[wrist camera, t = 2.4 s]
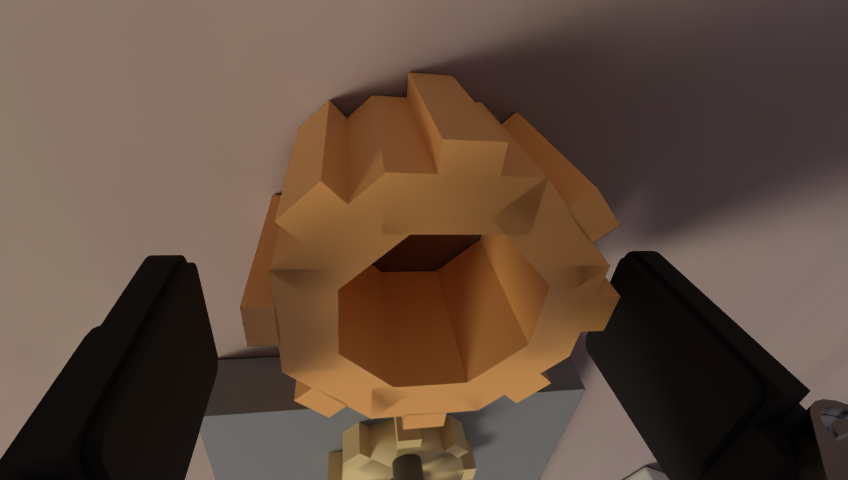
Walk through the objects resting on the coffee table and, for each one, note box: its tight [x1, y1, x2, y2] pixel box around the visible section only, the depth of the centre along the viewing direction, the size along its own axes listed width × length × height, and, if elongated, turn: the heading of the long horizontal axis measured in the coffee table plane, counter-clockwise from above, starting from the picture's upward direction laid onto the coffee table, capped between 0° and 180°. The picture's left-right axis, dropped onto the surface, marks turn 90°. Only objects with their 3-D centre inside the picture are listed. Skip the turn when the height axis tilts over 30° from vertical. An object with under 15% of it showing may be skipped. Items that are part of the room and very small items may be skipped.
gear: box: [240, 72, 620, 430], centre depth 10 cm, size 7×7×4 cm
